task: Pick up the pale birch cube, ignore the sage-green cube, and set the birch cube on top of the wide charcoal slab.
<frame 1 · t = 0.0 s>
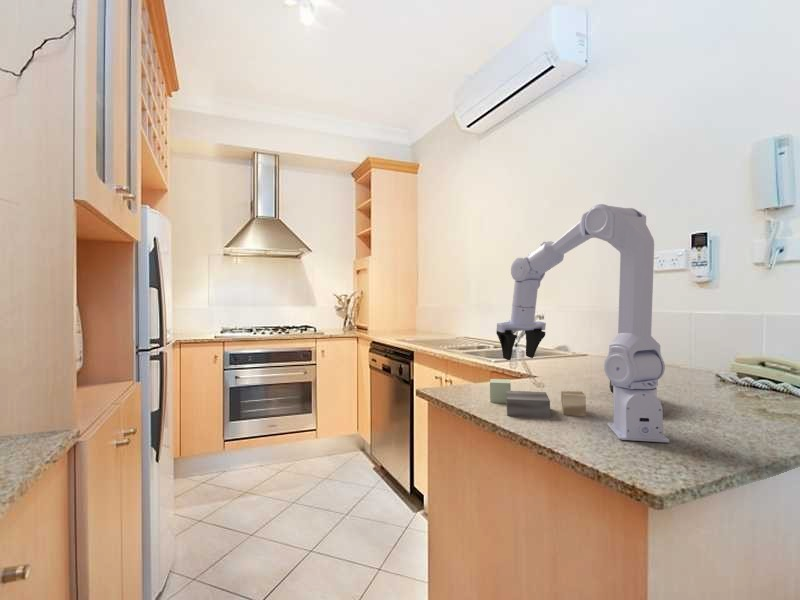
hand: (518, 358, 108), 11 cm above the countertop, tool pointing down, fingers open, 7 cm apart
charcoal slab: (527, 412, 95), on the countertop
birch cube: (573, 413, 94), on the countertop
sage cube: (500, 400, 107), on the countertop
toy gun: (629, 403, 103), on the countertop
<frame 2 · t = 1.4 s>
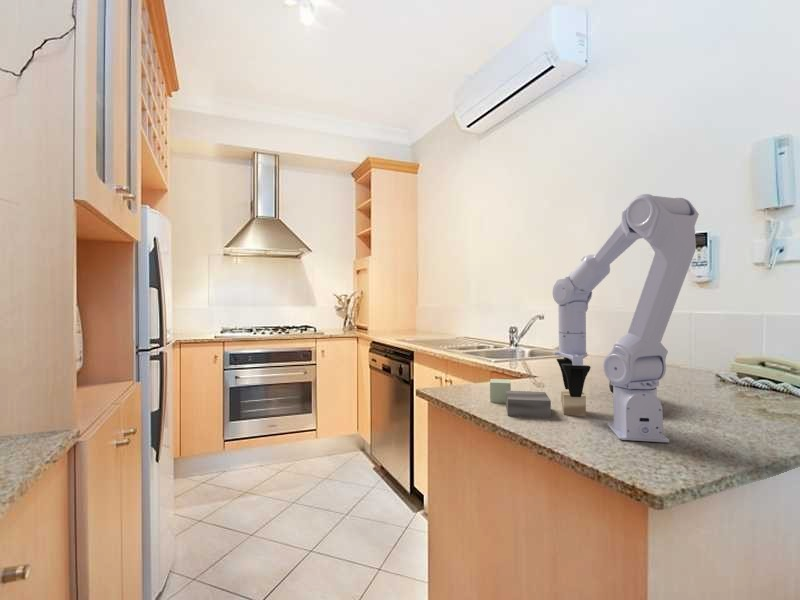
hand: (572, 392, 94), 4 cm above the countertop, tool pointing down, fingers open, 7 cm apart
nothing on the countertop moved.
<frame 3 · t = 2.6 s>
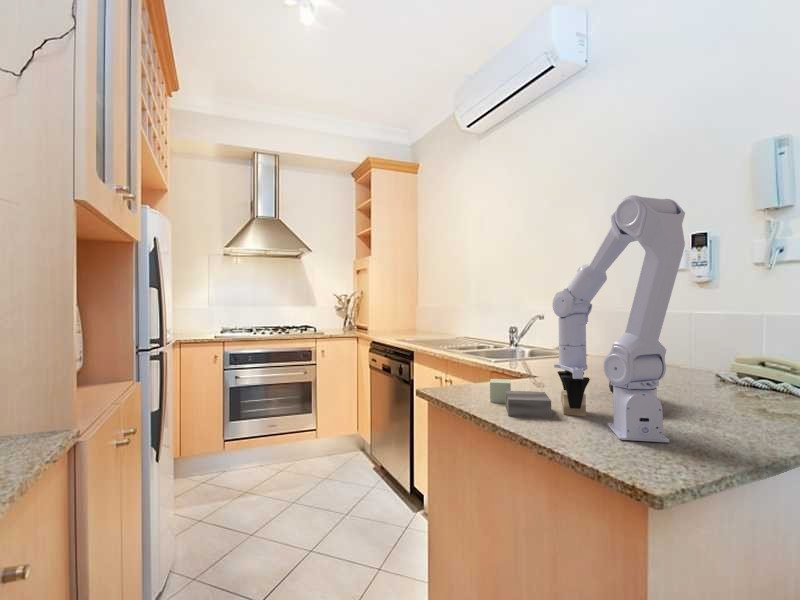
hand: (573, 405, 94), 2 cm above the countertop, tool pointing down, fingers closed on birch cube, 4 cm apart
birch cube: (573, 412, 94), on the countertop, touching gripper
everything else where it was.
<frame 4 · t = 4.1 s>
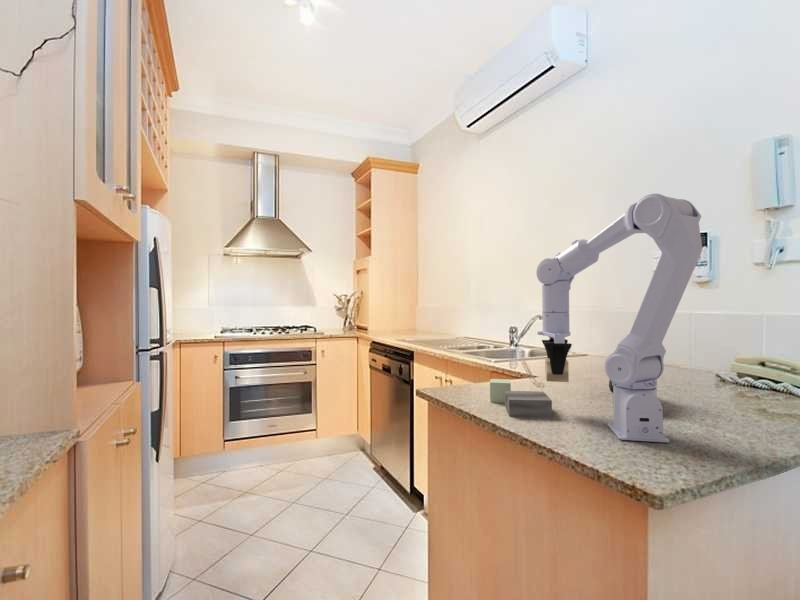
hand: (556, 372, 95), 9 cm above the countertop, tool pointing down, fingers closed on birch cube, 4 cm apart
birch cube: (556, 379, 95), point 7 cm above the countertop, touching gripper
everything else where it was.
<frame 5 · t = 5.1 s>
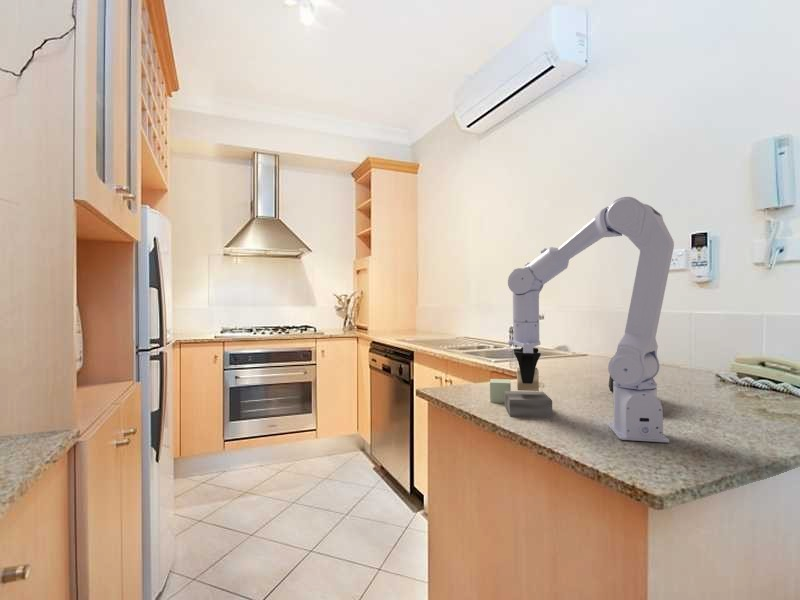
hand: (526, 381, 95), 7 cm above the countertop, tool pointing down, fingers closed on birch cube, 4 cm apart
birch cube: (527, 388, 95), point 5 cm above the countertop, touching gripper
when the fingers open (7 cm above the countertop, at t = 5.7 s): birch cube drops 2 cm, resting on charcoal slab.
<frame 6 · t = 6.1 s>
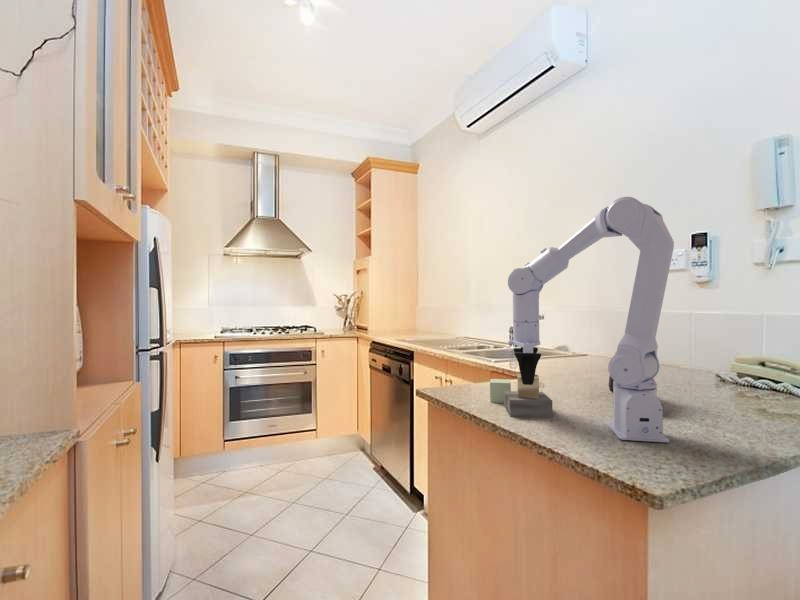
hand: (526, 381, 95), 7 cm above the countertop, tool pointing down, fingers open, 7 cm apart
charcoal slab: (527, 413, 95), on the countertop, touching birch cube
birch cube: (527, 395, 95), point 4 cm above the countertop, touching charcoal slab
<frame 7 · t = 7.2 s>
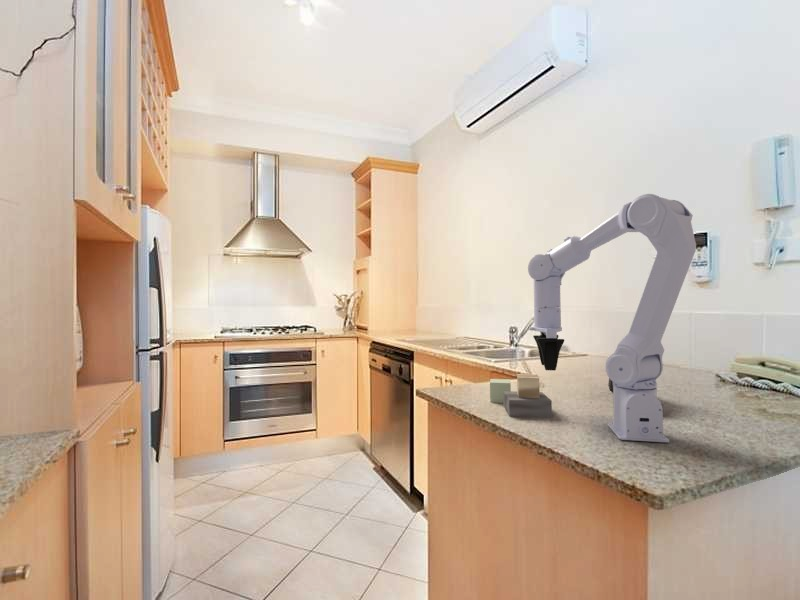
hand: (548, 367, 95), 10 cm above the countertop, tool pointing down, fingers open, 7 cm apart
charcoal slab: (526, 413, 95), on the countertop
birch cube: (528, 395, 95), point 4 cm above the countertop
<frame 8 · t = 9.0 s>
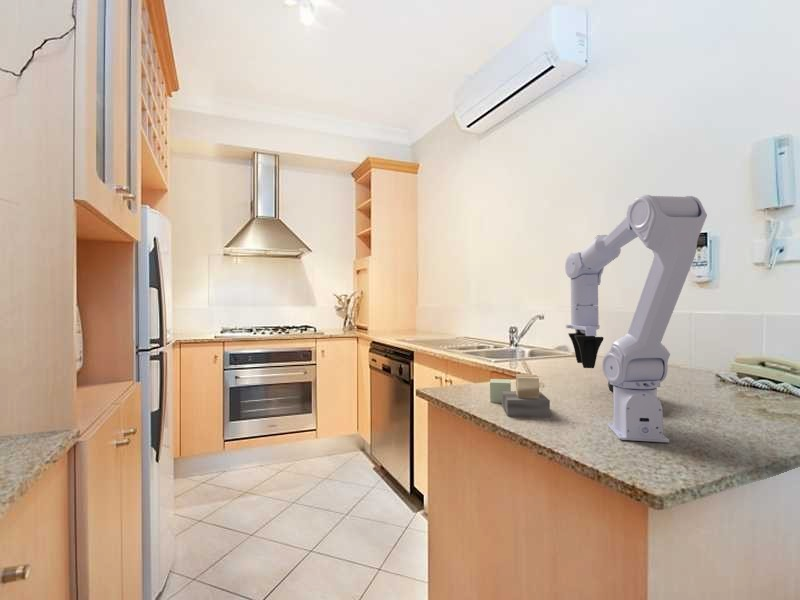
hand: (585, 365, 95), 10 cm above the countertop, tool pointing down, fingers open, 7 cm apart
at the end: birch cube 0.6 cm off-centre on the charcoal slab, point 4.0 cm above the charcoal slab's base; birch cube tilted 1°; the gripper is holding nothing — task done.
